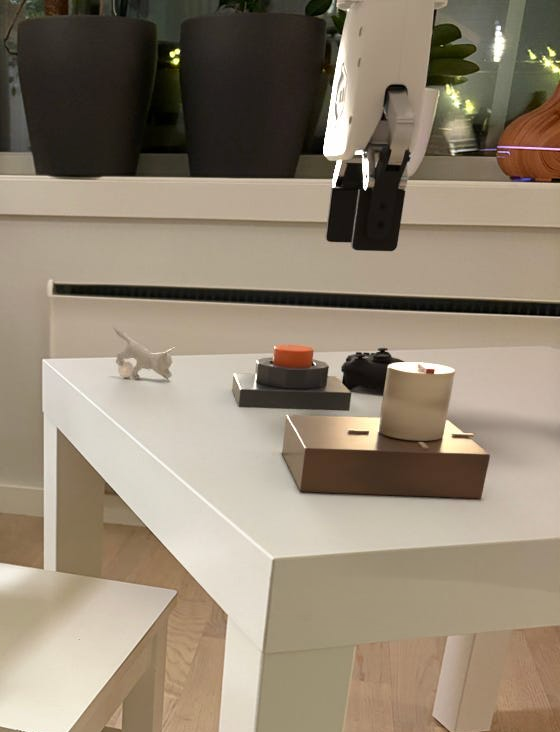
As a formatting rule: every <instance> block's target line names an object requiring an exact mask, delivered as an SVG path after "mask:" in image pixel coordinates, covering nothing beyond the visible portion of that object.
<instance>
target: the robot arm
mask: <svg viewBox="0 0 560 732" xmlns="http://www.w3.org/2000/svg"><path fill="white" fill-rule="evenodd" d="M448 2H449V1H448V0H336V8H337V9H339V10H342V11H345V12H346V15H345V20H344V24H343V27H342V28H343V29H342V34H341V37H340V43H339V47H338V48H339V49H338V54H337V59H336V66H335V70H334V78H333V83H332V90H331V91H332V92H331V97H330V104H329V111H328V118H327V124H326V131H325V137H324V144H323V155H324V157H325V158H326V160H328V161H330V162H336V165H335V169H334V173H333V178H332V187H331V188H330V196H329V204H328V211H327V213H328V214H327V221H326V229H325V237H324V238H325V240H326V241H327V242H329V243H350V246H351V248H352V249H353V250H354V251H365V252H366V251H368V252H393V251H396V250H397V248H398V243H399V236H400V231H401V225H402V224H401V223H402V216H403V210H404V204H405V196H406V188H407V185H408V177H409V176H408V174H409V173H408V162H410V161H411V156H410V155H411V154H413V152H414V150H415V148H416V145H417V140H418V135H419V130H420V126H421V120H422V115H423V114H422V113H423V108H424V101H425V95H426V94H425V93H426V85H427V79H428V71H429V62H430V53H431V45H432V37H433V36H432V35H433V33H434V31H433V25H434V14H435V12H434V11H435V10H439V9H440V10H441V9H443V8H444V7H447V5H448Z"/></svg>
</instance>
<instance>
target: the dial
mask: <svg viewBox="0 0 560 732" xmlns="http://www.w3.org/2000/svg"><path fill="white" fill-rule="evenodd" d="M455 374H456V370H455V369H454V368H452V367H450V366H447V365H442V364H436V363H429V362H414V361H413V362H412V361H410V362H409V361H408V362H407V361H405V362H402V363H393V364H390V365H388V368H387V374H386V381H385V387H384V391H383V393H382V394H383V395H382V401H381V408H380V412H379V413H380V415H379V418H380V420H379V426H378V431H379V432H380V433H381V434H383V435H385V436H388V437H392V438H397V439H403V440H412V441H431V440H437V439H441V438H442V437H443V435H444V430H445V424H446V420H448V419H447V418H448V412H449V407H450V402H451V396H452V392H453V386H454V380H455Z"/></svg>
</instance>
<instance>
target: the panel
mask: <svg viewBox="0 0 560 732" xmlns="http://www.w3.org/2000/svg"><path fill="white" fill-rule="evenodd" d="M379 420H380V417H367V416H365V417H364V416H335V415H310V414H309V415H306V414H286V415H285V424H284V433H283V443H282V450H281V451H282V452H281V454H282V456H283V458H284V460H285V462H286V465H287V466H288V468H289V471H290V473H291V476H292V477H293V479H294V481H295V483H296V486H297V488H298V490H299V492H301V493H323V494H324V493H326V494H349V495H351V494H353V495H355V494H356V495H380V496H404V497H405V496H406V497H430V498H431V497H432V498H433V497H434V498H454V499H455V498H457V499H458V498H460V499H482V497H483V492H484V487H485V484H486V483H485V482H486V477H487V473H488V472H487V471H488V467H489V463H490V457H491V454H490V453H489V452H487V451H486V450H485V449H484V448H483V447H481V446H480V445H479V444H478V443H476V442H475V441H474V440H473V439H472V438H473V437H475V436H474V435H475V434H473V433H472V432H469V433H468V432H463V431H462V430H461V429H459V428H458V427H457V426H455V424H453V423H452V422H451V421H450V420H448V419H446V424H445V430H444V435H443V437H442V438H441V439H437V440H431V441H412V440H403V439H397V438H392V437H388V436H385V435H383V434H381V433H380V432H379V431H378V426H379Z"/></svg>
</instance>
